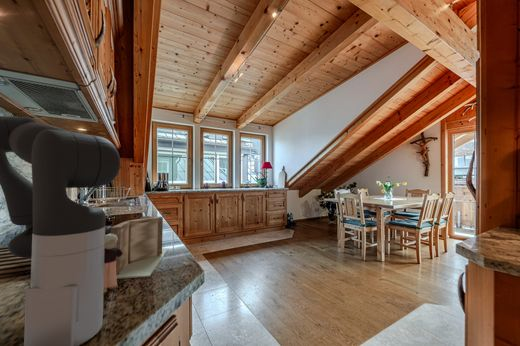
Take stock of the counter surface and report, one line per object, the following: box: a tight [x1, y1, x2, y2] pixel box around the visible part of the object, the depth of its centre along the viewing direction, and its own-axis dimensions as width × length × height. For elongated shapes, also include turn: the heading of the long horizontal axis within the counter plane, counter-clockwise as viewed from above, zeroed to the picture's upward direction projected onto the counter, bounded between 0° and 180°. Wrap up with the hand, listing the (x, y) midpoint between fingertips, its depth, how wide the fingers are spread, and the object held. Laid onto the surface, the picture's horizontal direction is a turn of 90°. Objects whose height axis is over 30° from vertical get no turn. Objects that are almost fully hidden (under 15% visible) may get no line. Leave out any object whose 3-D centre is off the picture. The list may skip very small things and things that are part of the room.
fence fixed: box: [111, 221, 130, 276], centre depth 62 cm, size 8×2×12 cm, turn 10°
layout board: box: [116, 247, 170, 280], centre depth 69 cm, size 23×12×1 cm, turn 10°
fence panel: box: [124, 216, 164, 262], centre depth 71 cm, size 11×2×12 cm, turn 139°
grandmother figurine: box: [103, 234, 124, 294], centre depth 53 cm, size 8×4×13 cm, turn 168°
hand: (153, 236), depth 74 cm, fingers closed
